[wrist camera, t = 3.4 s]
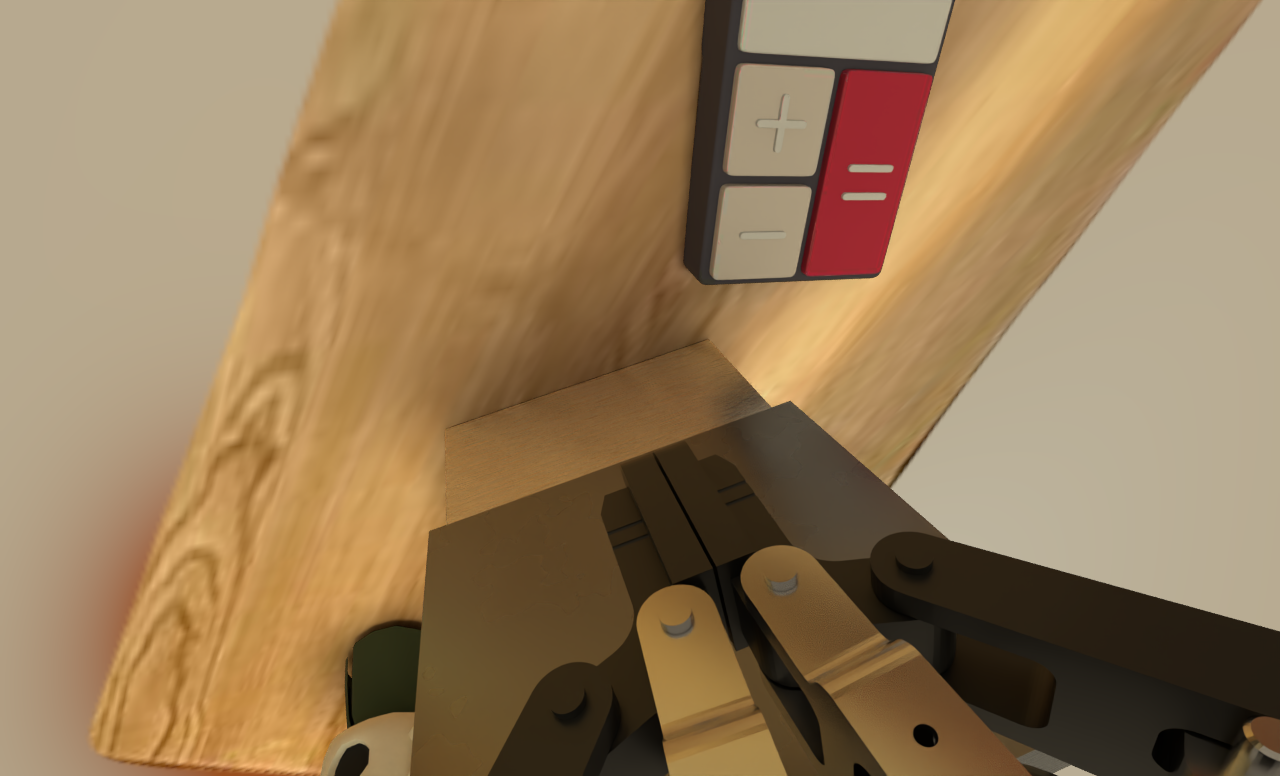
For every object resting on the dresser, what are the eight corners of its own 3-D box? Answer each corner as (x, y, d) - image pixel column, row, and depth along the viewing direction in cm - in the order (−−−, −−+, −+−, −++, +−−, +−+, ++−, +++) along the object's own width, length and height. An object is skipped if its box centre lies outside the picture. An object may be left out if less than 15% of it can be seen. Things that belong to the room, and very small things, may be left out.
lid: (439, 552, 27) (429, 531, 26) (793, 423, 29) (790, 400, 28) (409, 1162, 11) (381, 1139, 11) (1183, 786, 13) (1192, 752, 13)
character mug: (379, 580, 39) (356, 791, 28) (485, 605, 42) (502, 802, 31) (310, 699, 42) (265, 932, 31) (415, 714, 45) (407, 929, 34)
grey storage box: (444, 429, 35) (446, 550, 27) (708, 339, 37) (787, 425, 29) (532, 612, 44) (555, 749, 35) (744, 531, 46) (814, 641, 37)
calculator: (703, 292, 32) (748, -70, 25) (676, 263, 36) (708, -61, 28) (888, 283, 35) (980, -42, 27) (847, 257, 39) (918, -38, 31)
